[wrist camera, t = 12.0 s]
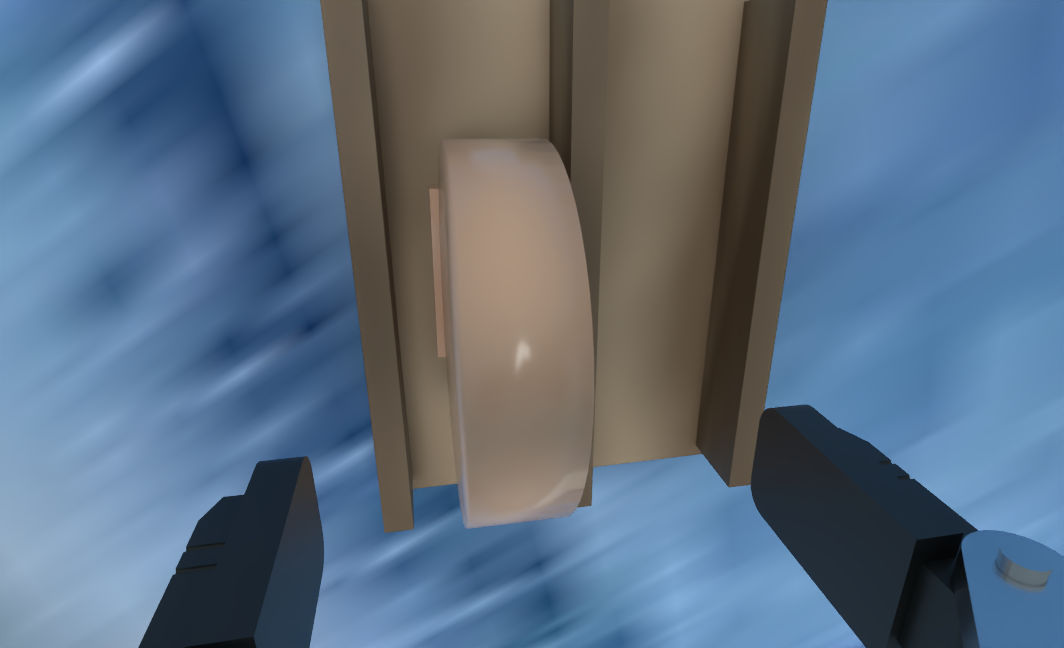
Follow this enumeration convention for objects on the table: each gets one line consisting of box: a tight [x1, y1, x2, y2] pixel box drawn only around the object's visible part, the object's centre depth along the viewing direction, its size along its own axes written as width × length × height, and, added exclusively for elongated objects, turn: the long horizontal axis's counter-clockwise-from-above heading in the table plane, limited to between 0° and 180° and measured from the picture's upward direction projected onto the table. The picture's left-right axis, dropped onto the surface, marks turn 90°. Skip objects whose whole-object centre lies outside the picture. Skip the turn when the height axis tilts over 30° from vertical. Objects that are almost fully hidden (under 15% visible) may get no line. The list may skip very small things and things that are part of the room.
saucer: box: [429, 138, 594, 529], centre depth 17 cm, size 3×10×11 cm, turn 0°
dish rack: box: [320, 0, 828, 533], centre depth 22 cm, size 14×18×4 cm
